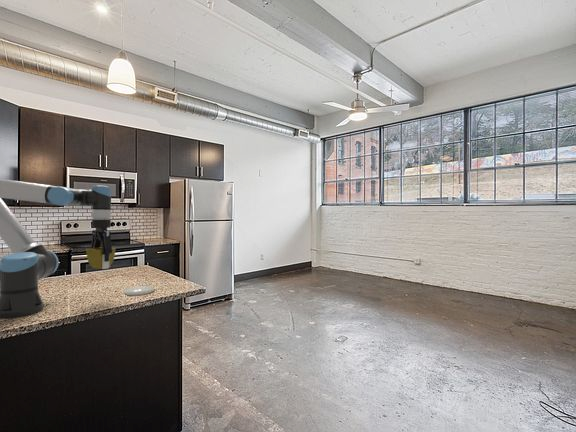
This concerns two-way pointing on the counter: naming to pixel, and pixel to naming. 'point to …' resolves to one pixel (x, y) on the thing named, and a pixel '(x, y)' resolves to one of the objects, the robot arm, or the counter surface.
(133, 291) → the white flat disc
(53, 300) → the counter surface
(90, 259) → the flower pot
